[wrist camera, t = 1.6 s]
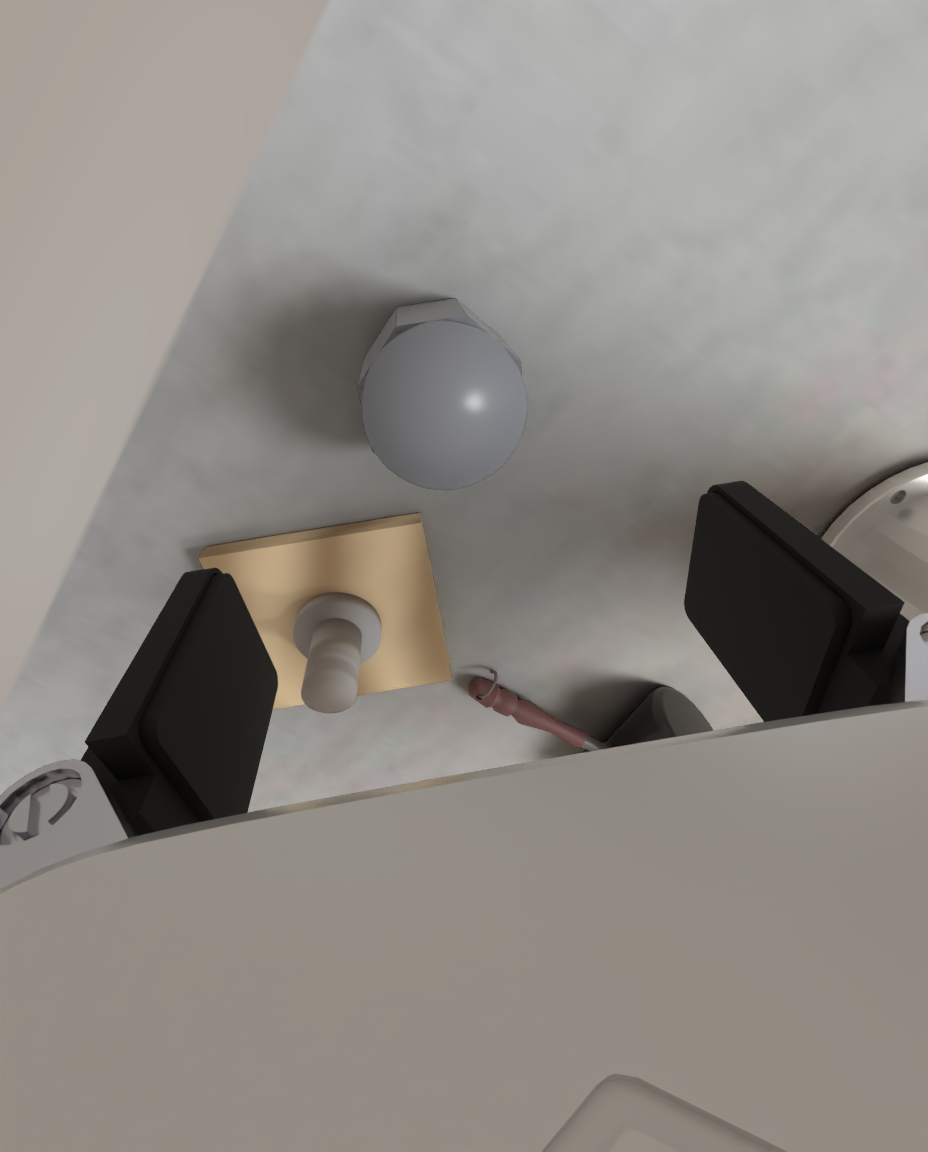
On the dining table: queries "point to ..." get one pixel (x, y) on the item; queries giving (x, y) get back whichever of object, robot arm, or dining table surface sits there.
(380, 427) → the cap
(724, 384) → the dining table surface
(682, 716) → the coffee pot
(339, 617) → the plate with round knob
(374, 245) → the dining table surface
